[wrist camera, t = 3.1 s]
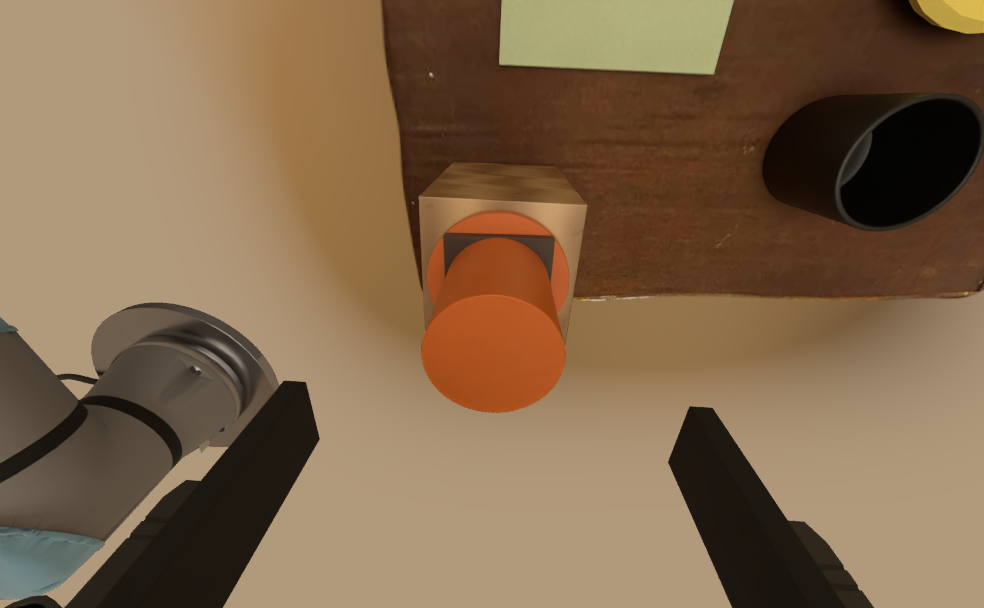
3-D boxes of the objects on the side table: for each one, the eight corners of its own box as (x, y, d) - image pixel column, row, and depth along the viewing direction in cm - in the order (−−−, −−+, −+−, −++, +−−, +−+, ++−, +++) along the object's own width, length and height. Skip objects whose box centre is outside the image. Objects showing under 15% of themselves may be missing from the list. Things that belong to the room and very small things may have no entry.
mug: (852, 221, 37) (946, 252, 29) (742, 191, 36) (807, 215, 28) (925, 119, 33) (1058, 122, 25) (801, 82, 32) (898, 74, 24)
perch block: (454, 258, 41) (425, 338, 27) (453, 161, 36) (418, 196, 22) (545, 263, 41) (565, 346, 27) (557, 166, 36) (587, 204, 22)
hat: (433, 334, 27) (401, 428, 19) (424, 207, 22) (380, 260, 15) (560, 339, 26) (581, 436, 19) (575, 211, 22) (612, 268, 14)
